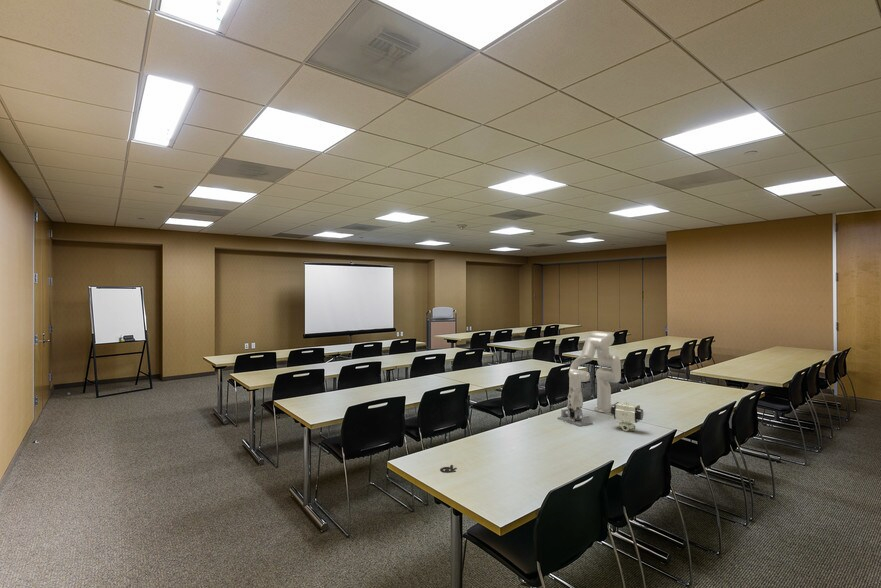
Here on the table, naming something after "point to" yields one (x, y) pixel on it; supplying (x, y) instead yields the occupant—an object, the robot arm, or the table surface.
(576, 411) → the coupler
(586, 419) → the shaft stand
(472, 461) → the table surface
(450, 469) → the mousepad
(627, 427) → the ball valve
